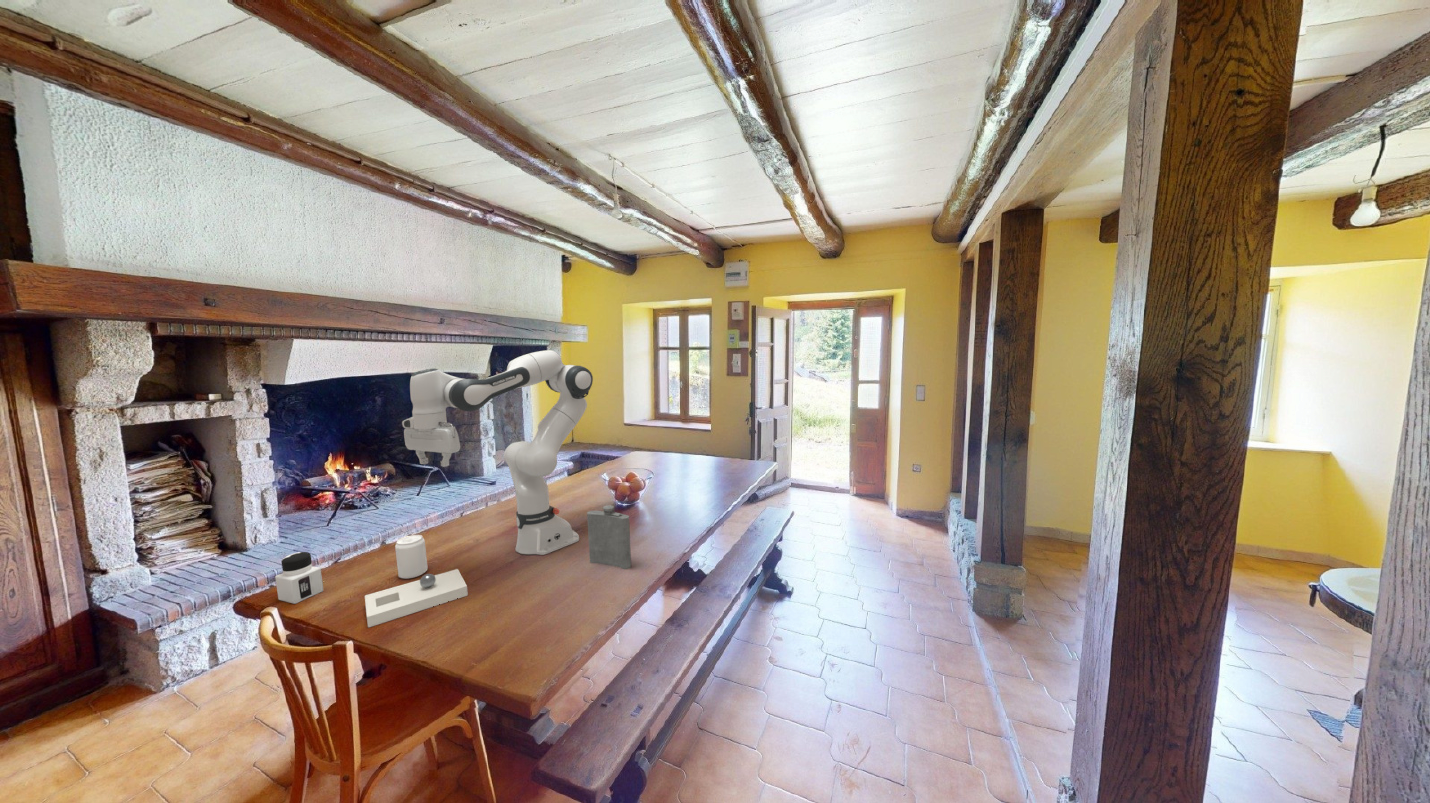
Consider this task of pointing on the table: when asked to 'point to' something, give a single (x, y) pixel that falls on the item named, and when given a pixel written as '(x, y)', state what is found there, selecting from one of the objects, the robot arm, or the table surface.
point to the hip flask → (609, 538)
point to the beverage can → (411, 556)
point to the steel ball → (427, 580)
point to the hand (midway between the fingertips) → (434, 464)
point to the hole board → (413, 597)
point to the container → (298, 578)
